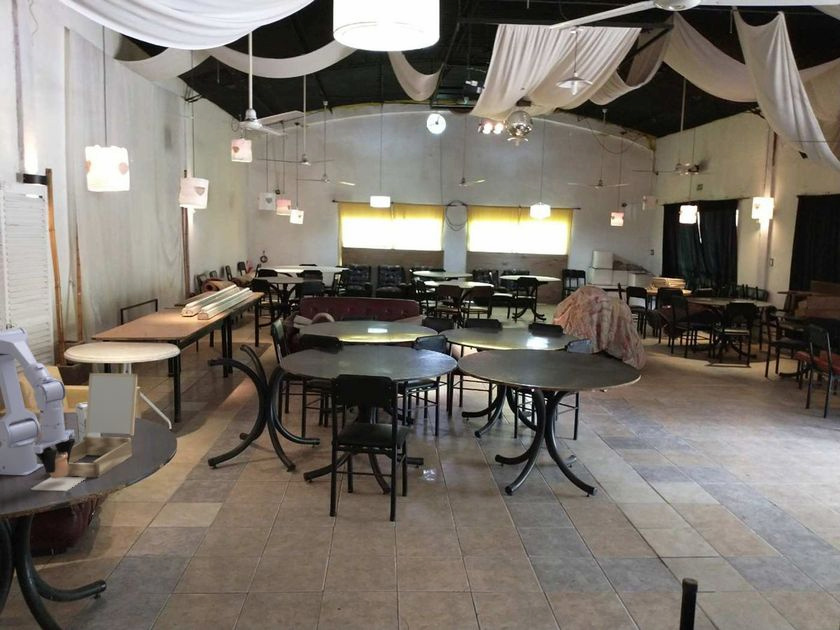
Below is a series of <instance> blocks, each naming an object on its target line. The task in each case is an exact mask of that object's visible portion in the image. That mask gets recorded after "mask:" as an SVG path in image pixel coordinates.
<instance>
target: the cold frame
mask: <svg viewBox="0 0 840 630" xmlns="http://www.w3.org/2000/svg"><path fill="white" fill-rule="evenodd" d="M132 449H133V448H132V439H131V437H122V436H120V437H116V436H102V437H91V436H85V437H83V441H81V442H79V441H78V442H76V444H74V445H73V447H72V450H71V453H70V458H69V463H68V467H69V474H68V475H66V476H65V477H72V476H79V477H84V478H96V477H97V478H100V477H101V476H103V475H104V474H106V473H107V472H109V471H110V470H112V469H114V468H115V467H117V466H118V465H120V464H121V463H123V462H124V461H125V460H127V459H129V458H131V457H132V455H133V452H132ZM86 455H87V456H100V457H99V458H97V459H95V460H94V461H92V462H93V463H91V462H78V461H80V460H81V459H84V458H85V457H86ZM79 459H80V460H79ZM74 462H75V463H74ZM49 475H50V473H48V476H49Z"/></svg>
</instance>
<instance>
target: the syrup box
mask: <svg viewBox="0 0 840 630" xmlns="http://www.w3.org/2000/svg"><path fill="white" fill-rule="evenodd" d="M87 403H88V401H84V402H80V403H76V404H75V411H76V424H77V435H78V437H77V438H78V443H79V442H81V441H83V437H85V436H91V437H103V433H90V434H85V429H86V416H87Z"/></svg>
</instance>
